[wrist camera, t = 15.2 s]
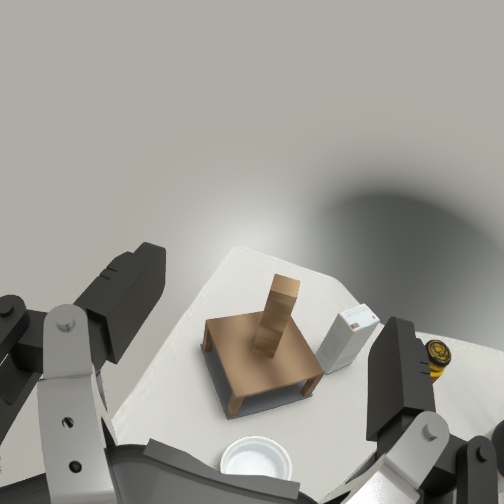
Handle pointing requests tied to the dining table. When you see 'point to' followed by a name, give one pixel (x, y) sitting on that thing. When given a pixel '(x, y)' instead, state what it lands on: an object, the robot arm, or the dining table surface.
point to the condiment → (437, 358)
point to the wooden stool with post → (263, 347)
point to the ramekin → (256, 458)
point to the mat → (254, 401)
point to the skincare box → (346, 338)
